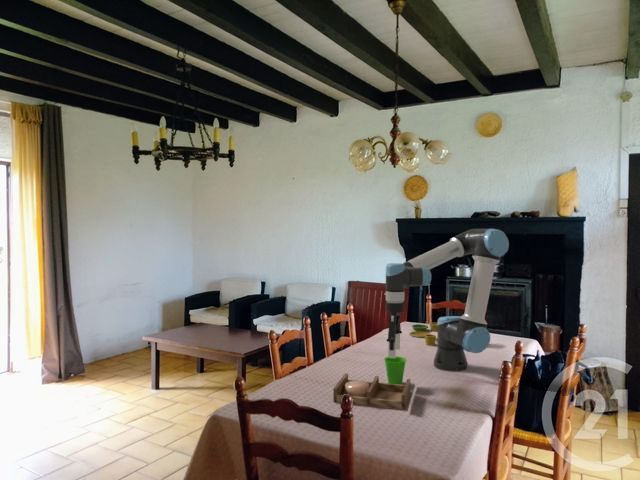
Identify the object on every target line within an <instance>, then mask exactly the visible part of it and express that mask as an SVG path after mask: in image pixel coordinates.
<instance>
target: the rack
mask: <svg viewBox="0 0 640 480" xmlns="http://www.w3.org/2000/svg"><path fill="white" fill-rule="evenodd" d="M379 377H380V376H379V375H376V376H374V379H373V380H372V381H366V380H365V381H364V380H362V381H363V382H366V383H368V384H369V389H368V391H367V397H358V396H351V397H352V399H353V404H352V405H355V406H357V405H358V406H366V407H376V408H386V409H397V410H402V411H404V410H406V408H407V405H408V402H409V400H410V399H409V398H410V394H411V378H407V379H406V381H405V384H402V385H400V384H389V383H385V382H379V380H380V379H379ZM350 381H357V380H356V379H355V380H353V379H349V373H344V374H343V375H342V377H341V378H340V380H338V382H337V383H336V385H334V387H333V389H332V390H333V403H336V404H337V403H338V404H342V403H341V399H342V397H343V395H344V394H345V384H346V383H347V382H350Z"/></svg>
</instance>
